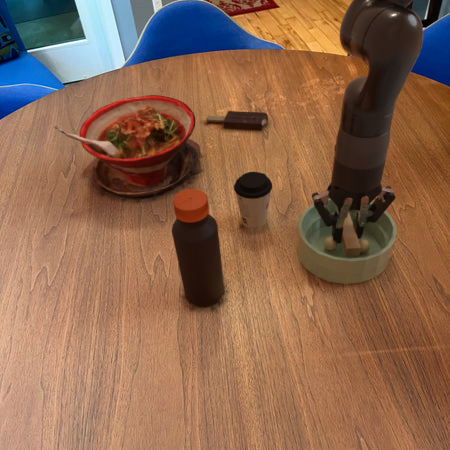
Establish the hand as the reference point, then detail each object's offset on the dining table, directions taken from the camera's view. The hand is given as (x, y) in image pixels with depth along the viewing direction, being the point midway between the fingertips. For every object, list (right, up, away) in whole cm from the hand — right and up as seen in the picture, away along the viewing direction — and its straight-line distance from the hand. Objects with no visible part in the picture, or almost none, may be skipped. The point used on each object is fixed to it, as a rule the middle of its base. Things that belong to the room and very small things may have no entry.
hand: (346, 239), depth 84 cm
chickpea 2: (+2, -2, 0) cm, 3 cm away
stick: (0, 0, 0) cm, 0 cm away
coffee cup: (-16, +4, +9) cm, 18 cm away
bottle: (-25, -10, -2) cm, 27 cm away
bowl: (0, -2, +2) cm, 3 cm away
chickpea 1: (-3, -1, +2) cm, 4 cm away
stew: (-40, +17, +21) cm, 48 cm away
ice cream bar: (-19, +32, +32) cm, 49 cm away
